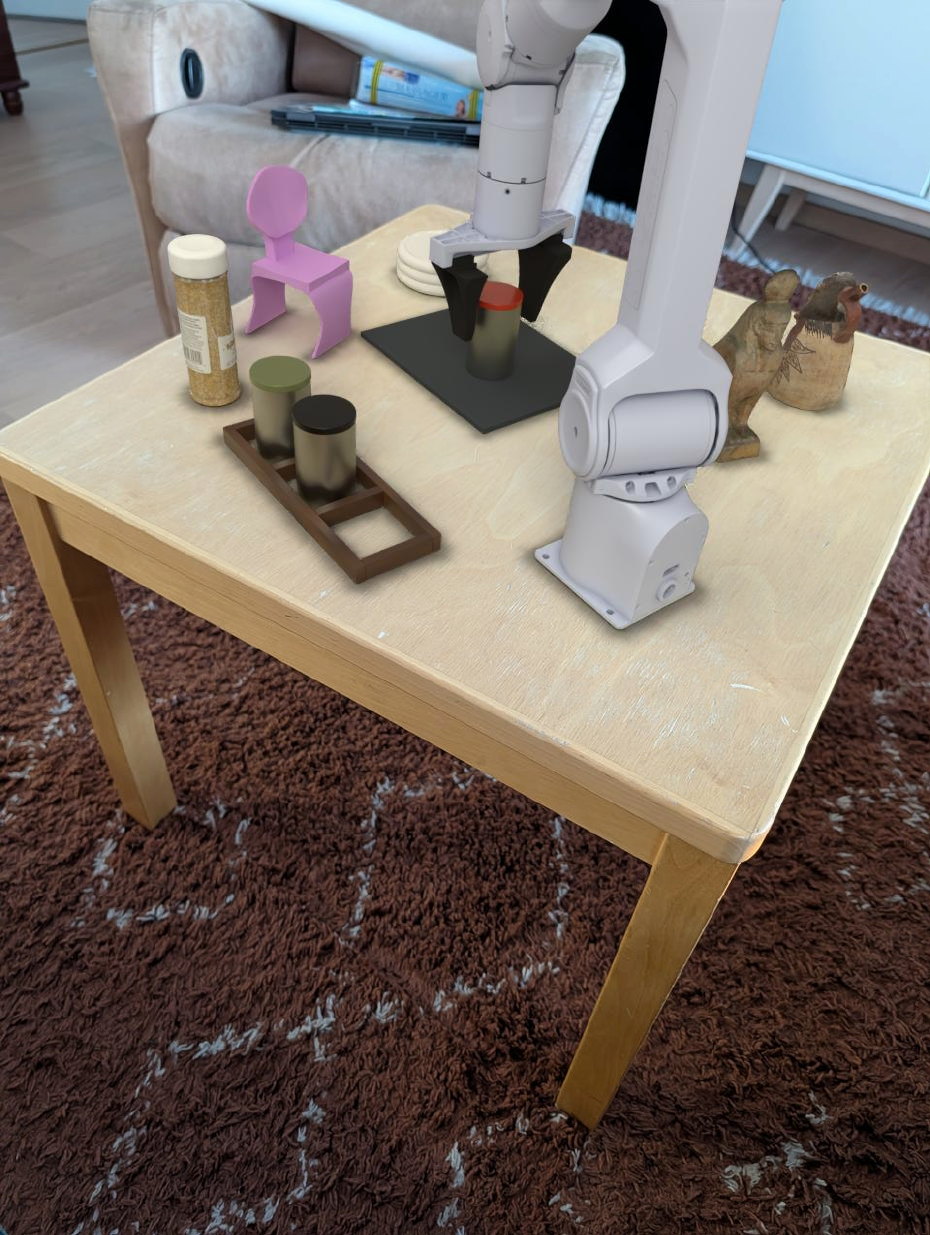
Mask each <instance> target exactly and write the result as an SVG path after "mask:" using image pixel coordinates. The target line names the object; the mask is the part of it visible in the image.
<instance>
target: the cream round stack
mask: <svg viewBox="0 0 930 1235" xmlns="http://www.w3.org/2000/svg"><path fill="white" fill-rule="evenodd" d="M447 231H448V230H445V229H427V230H420V231H416V232H413V233H410V234H408V235H407V236H405V237H403V238H402V239H401V240H400V241H399V243H398V244H397V247H396V254H397V257H396V265H397V266H396V275H397V278H398V280H400V282H401V283H402V284H404V285H405V286H406V287H408V288H409V289H411V290H413V291H415V292H418V293H421V294H423V295H424V294H425V295H428V296H434V297H446V296H445V293H444V290H443V287H442V285H441V282H440V280H439V278H438V275H437V273H436V271H435V269H434V267H433V265H432V263H431V260H429V255H430V237H433V236H437V235H440V234H443V233H445V232H447ZM489 254H490V253H489ZM489 254H485V255H481V256H476V257H474V263H477V268H478V269H479V270H481V271H482V272H484V273H485V274H487V271H488V267H489V265H488V264H489V263H488V261H489V257H490V255H489ZM487 275H488V274H487Z"/></svg>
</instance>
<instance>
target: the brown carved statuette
mask: <svg viewBox="0 0 930 1235" xmlns="http://www.w3.org/2000/svg"><path fill="white" fill-rule="evenodd" d="M800 282H801V277H800V275H799V274H798V272H797V270H795V269H793V268H790V269H789V268H786V269H785V268H784V269H781V270H778V271H777V272H775V273H773V274H772V275H771V277H769V278H768V280H766V282H765V284H764V285H763V286H762V287H763V288H762V298H759V299H757V300H755V301H754V302H752V303H751V304H749V306H748V307H747V308H746V309H745V310H744V311H743V312H742V314H741V315H740V316H739V318H738V319H737V320H736V322H735V323H734V324H733V325H732V326H731V327H730V328H729V330H728V331H727V333H725V335H724V336H722V338H720V339H719V340H718V341H717V342H716V343H714V344H713V345H711V346H712V347H713V348H714V349H715V350H716V351H717V352H718V353H719V354H720V355H721V356H722V358H723V359H724V360H725V362H726V364H727V366H728V368H729V370H730V372H731V374H732V376H733V378H732V382H731V385H730V389H729V395H728V432H727V436H726V440H725V443H724V445H723V447H722V450H721V452H720V454H719V456H718V457H717V459H716V460H715V461H716V462H718V463H724V462H730V461H736V460H744V459H747V458H750V459H751V458H756V457H759V455H760V449H761V439H760V437H759V436H758V434H757V433H756V432H755V431H754V430H753V429H752V428H750V426H749V425H748V421H749V418H750V416H751V414H752V412H753V410H754V408H755V407H756V405H757V403H758V402H760V401H759V400H760V399H761V398H762V396H763V395H764V393H765V392H766V391H767V388H768V386H769V385H770V383H771V382H772V381H773V380H774V378H775V376H776V374H777V372H778V370H779V367H780V364H781V362H782V359H783V343H782V342H783V341H782V339H783V337H784V334H785V331H786V329H787V327H788V325H789V324H790V322H791V320H792V314H793V313H792V312H793V310H792V305H791V302H790V301H789V300H790V299H791V298H792V297H793V295H794V294H795V292H796V289H797V288H798V286H799V284H800Z"/></svg>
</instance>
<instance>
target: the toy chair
mask: <svg viewBox="0 0 930 1235" xmlns="http://www.w3.org/2000/svg"><path fill="white" fill-rule="evenodd" d="M308 191H309V190H308V183H307V180H306V178H305V176H304V175H303V173H301V172H300V171H299V170H298V169H295V168H293V167H291V166H287V165H281V164H271V165H267V166H264V167H262V168H260V169H259V170H258V171H257V172H256V174H255V175H254V176H253V178H252V180H251V184H250V187H249V189H248V193H247V196H246V205H245V212H246V213H245V214H246V217H247V220H248V222H249V224H250V225H251V226H252V227H253V228H254V229H255V230H257V231H258V232H260V233H261V234H262V237H263V243H264V248H265V255H266V256H265V257H262V258H260V259H258V260H255V261H254V262H252V263H251V272H252V273H251V274H250V276H249V283H250V287H251V291H252V308H251V312H250V315H249V318H248V322H247V325H246V327H245V329H244V334H247V335H248V334H250V333H252V332H254V331H255V330H257V329H259V328H261V327H262V326H264V325H266V324H267V323H269V322H271V321H273V320H274V319H276V318H277V317H279V316H281V315H283V314H284V313H286V312H287V311H288V309H287V302H286V285H287V286H290V287H292V288H293V289H296V290H298V291H300V292H303V293H304V294H305V295H307V296H308V298H309V299H310V301H311V303H312V305H313V306H314V308H315V311H316V312H317V315H318V318H319V325H320V328H319V334H318V337H317V341H316V344H315V347H314V350H313V351H312V354H311V359H313V360H315V359H317V358H319V357H320V356H322V355H323V354H324V353H326V352H328V351H329V350H331V349H332V348H333V347H335V346H336V345H338V344H339V343H341V342H343V341H344V340H346V339H347V338H348V337H350V336H351V335H352V318H351V317H352V316H351V315H352V313H351V312H352V301H353V300H352V298H353V289H354V288H353V287H354V277H353V276H354V275H353V273H352V271H351V269H350V259H347V258H344V257H341V256H338V255H334V254H330V253H326V252H323V251H320V250H317V249H314V248H312V247H310V246H307V245H306V244H302V243H300V242H296V241H294V239H293V238H294V237H293V236H294V231H295V230H296V229H297V228H298V227H299V226H300V225H301V224H302V223H303V221H304V220H305V219H306V218H307V212H308V198H309V197H308V195H309V194H308V193H309V192H308Z"/></svg>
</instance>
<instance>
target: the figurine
mask: <svg viewBox="0 0 930 1235" xmlns="http://www.w3.org/2000/svg"><path fill="white" fill-rule="evenodd" d="M868 292H869V286H868V285H867V284H866V283H864V282H861V283H859V284H857V278H856V276H855V275H854V274H853V273H852V272H850V271H838V272H836V273H833V274H831V275H828V276H827V277H824V278H822V279H821V280H820V281H819V282H818V283H817V285H816V287H815V289H814V290H813V291H812V292H811V293H809V294H808V295H807V296H806V302H805V304H804V305H803V307H801V309H800V310H798V311H796V312H795V313H794V314H793V318H794V319H795V322H796V323H795V324H794V325H793V326H792V327H791V329H790V330H789V331H788V333H787V335H786V338H785V341H784V343H783V344H782V346H783V359H782V362H781V364H780V367H779V370H778V372H777V374H776V376H775V378H774V380H773V381H772V382H771V383H770V385H769V386H768V388H767V389H766V391H767V392H768V394H770V396H771V397H772V398H774V399H776V400H777V401H779V402H780V403H783V404H785V405H787V406H789V407H793V408H797V409H800V410H805V411H817V412H819V411H825V410H829V409H831V408H833V407H834V406H835V405H836V404H837V403H838V401H839V400H840V399H841V397H842V396H843V394H844V392H845V388H846V385H847V381H848V377H849V372H850V369H851V363H852V358H853V353H854V346H855V332H856V330H858V327H859V326H860V323H861V320H862V316H863V310H862V304H861V302H860V300H861V299H862V298H863V297H865V296H866V295H867V294H868Z"/></svg>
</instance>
